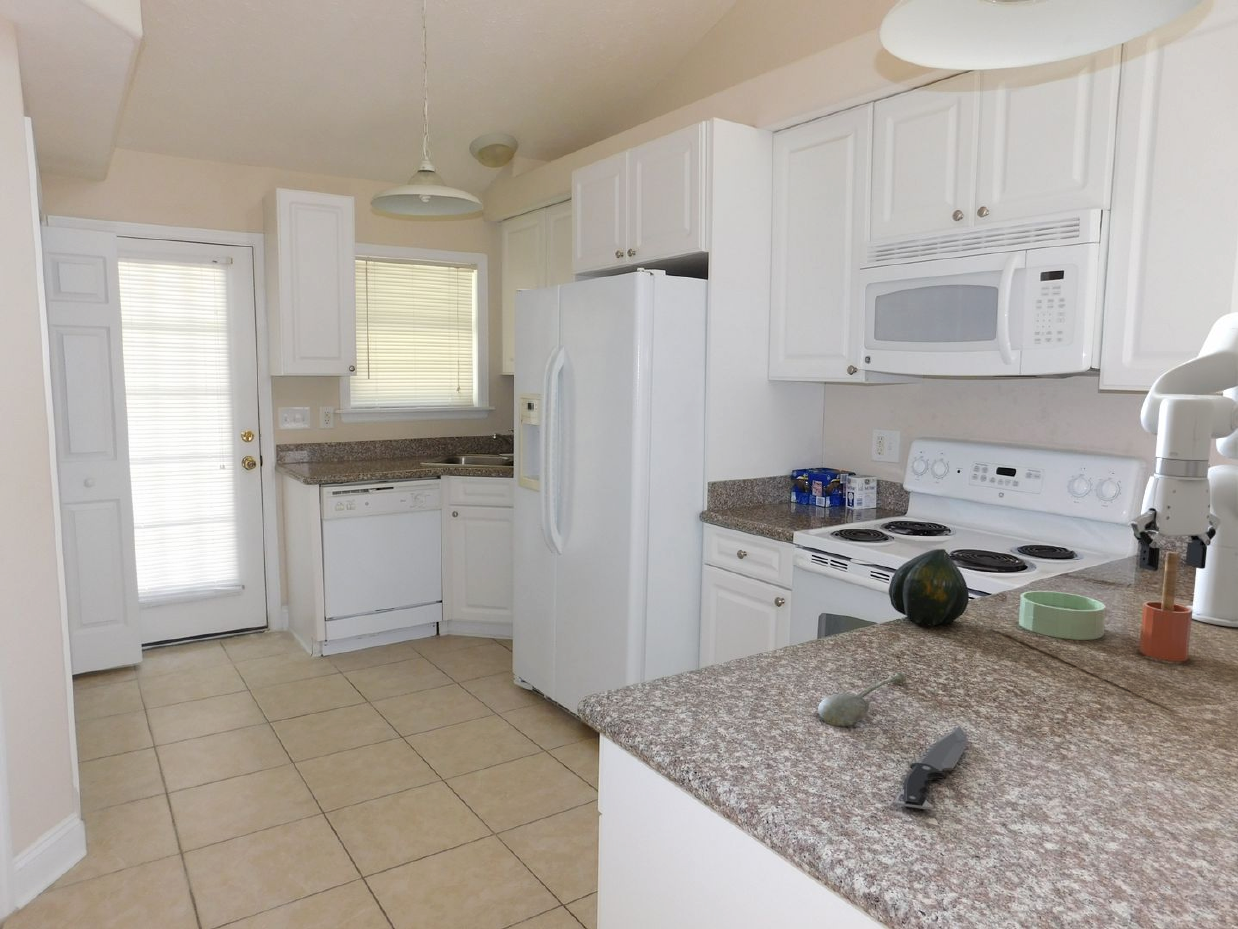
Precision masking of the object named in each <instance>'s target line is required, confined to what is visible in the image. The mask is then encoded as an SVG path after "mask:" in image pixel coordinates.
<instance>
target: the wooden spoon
mask: <svg viewBox="0 0 1238 929" xmlns="http://www.w3.org/2000/svg"><path fill="white" fill-rule="evenodd" d="M1179 557H1180V553H1179V552H1177V551H1169V550H1167V551H1166V553H1165V563H1164V573H1163V582H1162V583H1163V584H1162V594H1161V602H1162V604H1161V610H1165V611H1172V612H1173V611H1174V604H1175V599H1176V590H1177V578H1178V568H1179Z"/></svg>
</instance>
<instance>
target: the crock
mask: <svg viewBox="0 0 1238 929" xmlns="http://www.w3.org/2000/svg"><path fill="white" fill-rule="evenodd" d="M1142 604H1143V605H1142V615H1141V625H1140V636H1139V646H1138V650H1139V653H1141V654H1142V655H1145V656H1147V657H1150V658H1152V659H1157V660H1161V661H1169V662H1185V661H1187V660H1189V650H1190V640H1191V631H1192V621H1193V619H1192V609H1190V608H1188V607H1186V606H1185V605H1181V604H1177V603H1174V611H1173V612H1172V611H1165V610H1161V604H1162V601H1156V600H1155V601H1154V600H1153V601H1144V602H1143V603H1142Z"/></svg>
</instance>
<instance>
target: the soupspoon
mask: <svg viewBox="0 0 1238 929" xmlns="http://www.w3.org/2000/svg"><path fill="white" fill-rule="evenodd" d="M894 674H895V675H890V676H889V677H888V678H886V679H883V680H881V681H878V682H876V683H875V684H873V685H871V686H869V687H867V688H865V689H863V690H862V691H860V692H859V693H857V694H853V693H849V692H848V693H846V692H845V693H843V692H841V693H834V694H831V695H828V696H826V697H825V698H823V699H822V700H821V702H820V703H819V704H818V707H817V711H818V716H819V717H820V718H821V719H822V721H824V722H825V723H827V724H829V725H831V726H838V727H850V726H853V725H856V724H858V723H859V722H861V721H862V720H863V718H864V717H866V715H867V714H868V712H869V709H870V705H869V702H868V701H867V700H866V699H865V698H864V697H866V696H867V695H868V694H870V693H872V692H873V691H875V690H876V689H878V688H880V687H882V686H884V685H886V684H889V683H897V684H899V685H902V684H904V683H905V682H906V675H905V674H904V673H903V672H900V671H898V672H896V673H894Z"/></svg>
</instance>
